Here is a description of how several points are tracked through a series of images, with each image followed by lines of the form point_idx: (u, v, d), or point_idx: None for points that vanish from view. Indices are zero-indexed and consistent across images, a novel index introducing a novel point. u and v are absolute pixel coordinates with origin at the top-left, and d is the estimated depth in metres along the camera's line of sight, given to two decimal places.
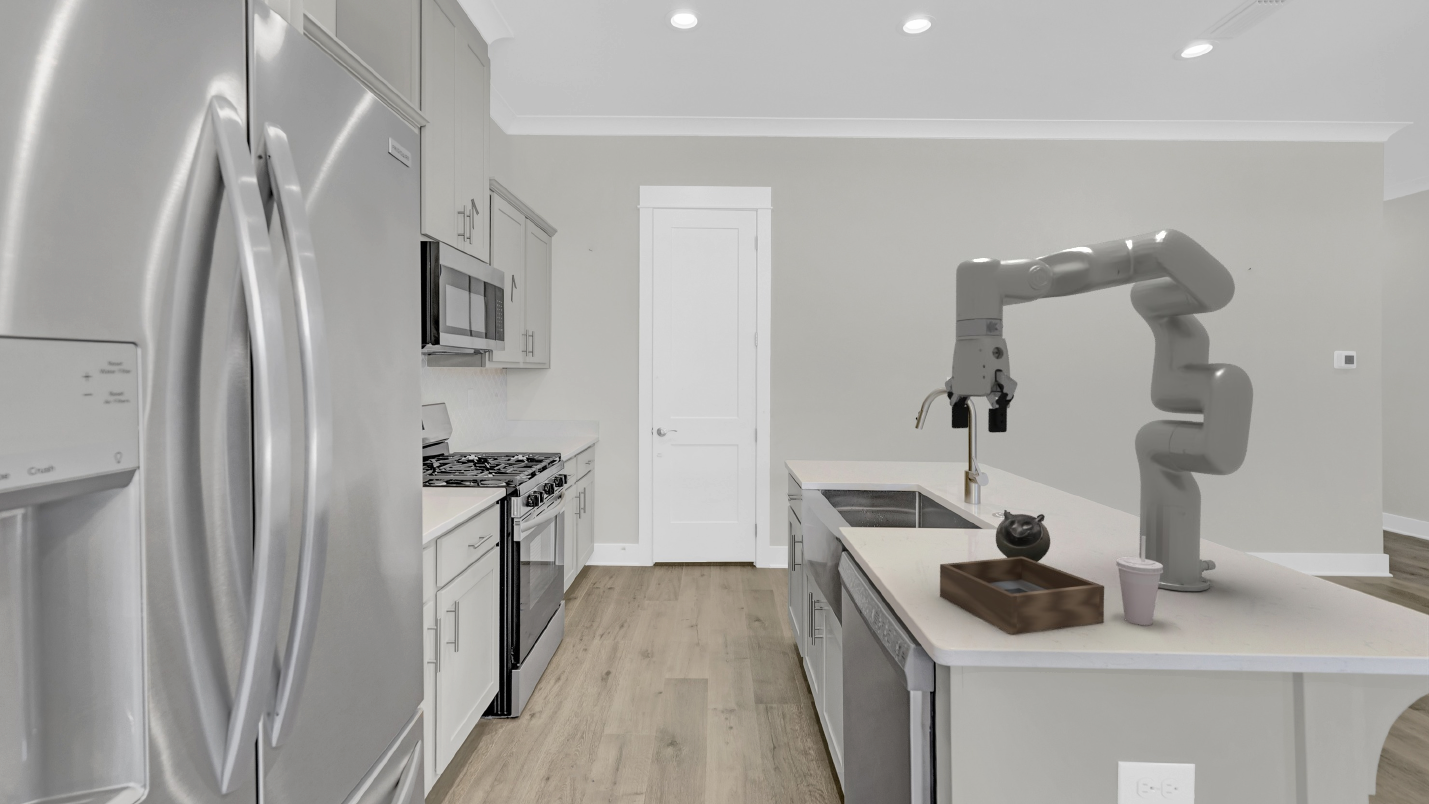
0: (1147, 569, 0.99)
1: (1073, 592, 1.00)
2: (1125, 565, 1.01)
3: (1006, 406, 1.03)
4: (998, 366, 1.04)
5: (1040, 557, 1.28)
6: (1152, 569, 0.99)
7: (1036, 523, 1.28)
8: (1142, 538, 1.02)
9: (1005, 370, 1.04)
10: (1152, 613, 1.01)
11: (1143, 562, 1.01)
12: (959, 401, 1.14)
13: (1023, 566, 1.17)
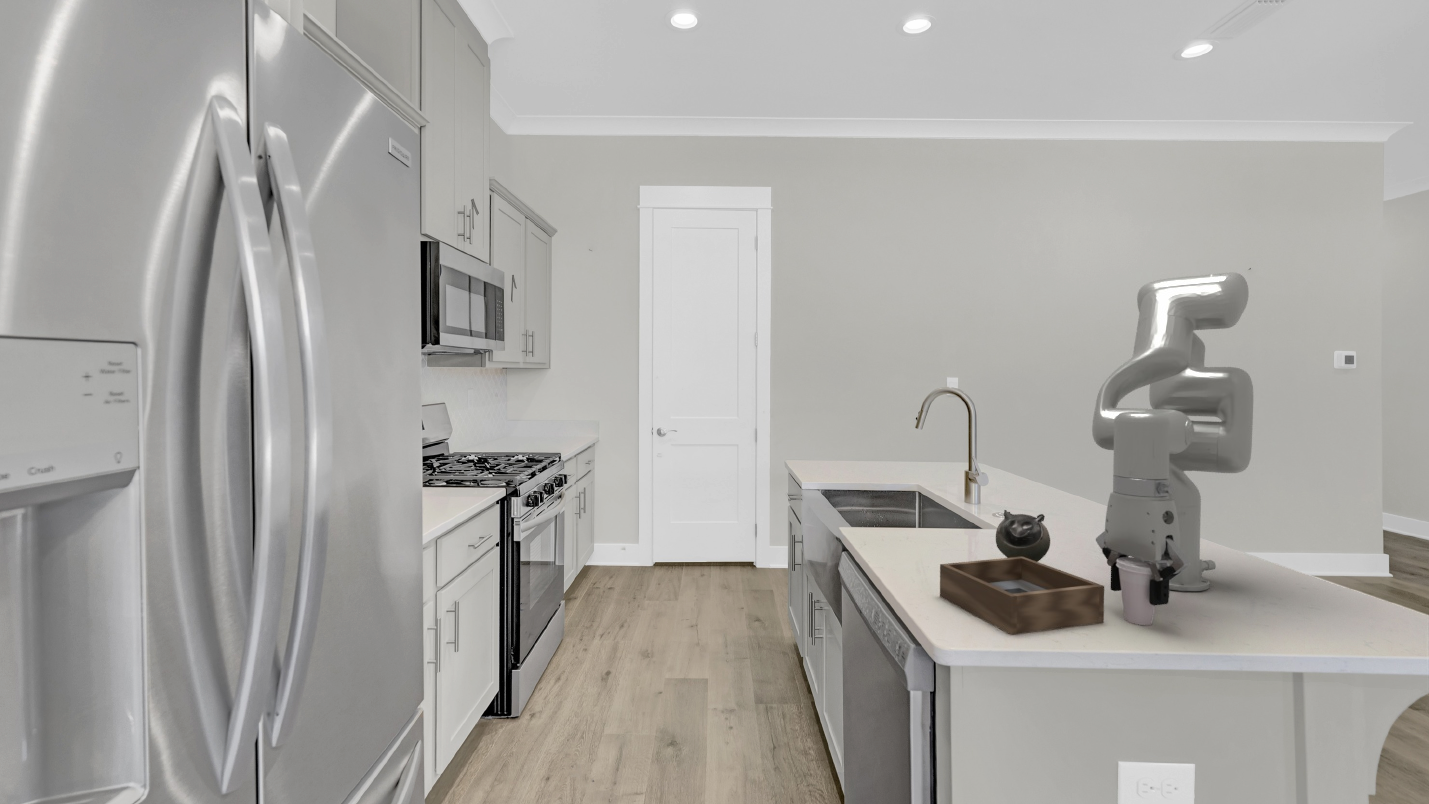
0: (1147, 569, 0.99)
1: (1073, 592, 1.00)
2: (1125, 565, 1.01)
3: (1169, 579, 0.98)
4: (1169, 532, 0.97)
5: (1040, 557, 1.28)
6: None
7: (1036, 523, 1.28)
8: None
9: (1176, 535, 0.97)
10: (1152, 613, 1.01)
11: (1143, 562, 1.01)
12: None
13: (1023, 566, 1.17)
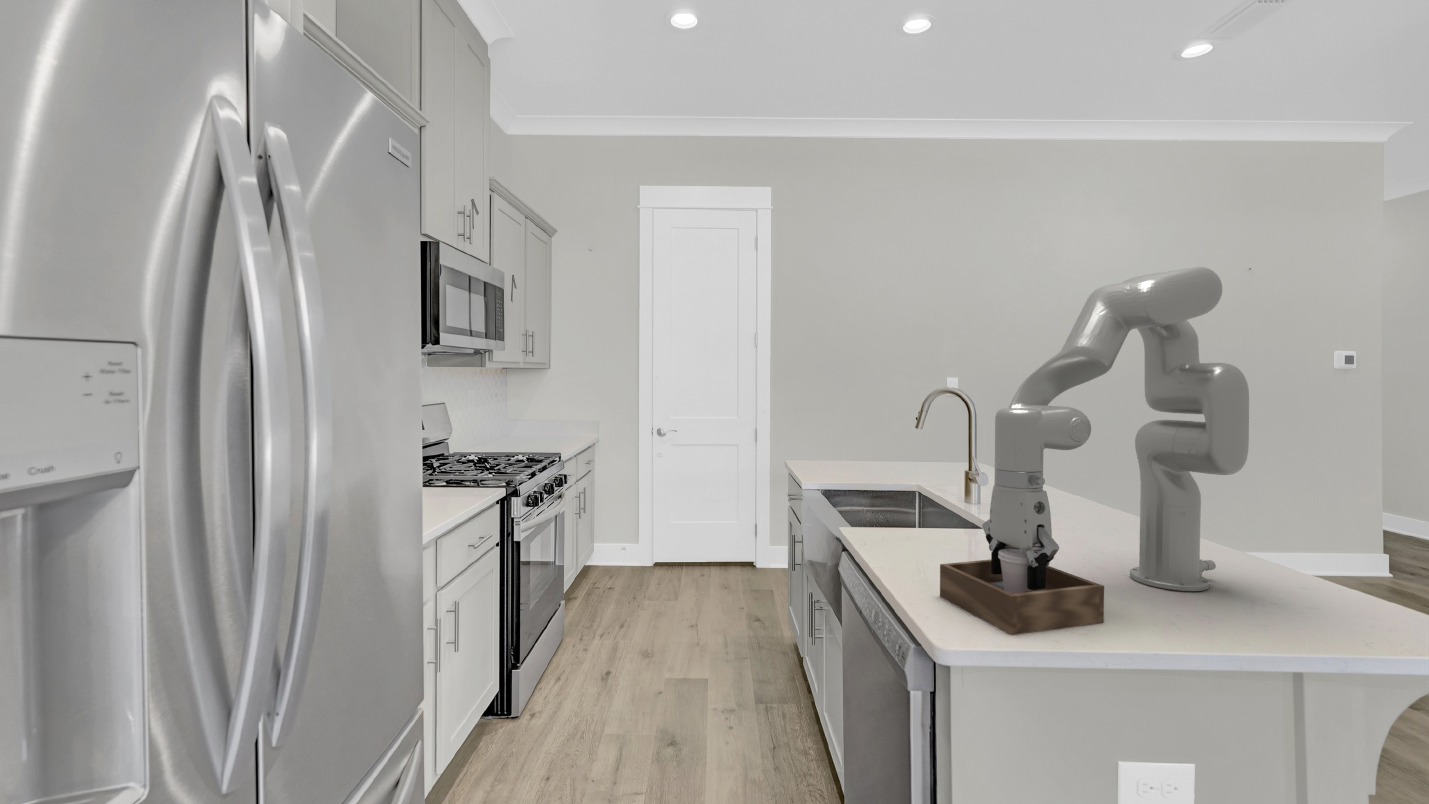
0: (1022, 559, 1.05)
1: (1073, 592, 1.00)
2: (1004, 556, 1.07)
3: (1045, 565, 1.03)
4: (1040, 521, 1.03)
5: None
6: (1027, 559, 1.05)
7: None
8: None
9: (1047, 525, 1.03)
10: None
11: (1021, 553, 1.07)
12: (999, 546, 1.12)
13: None
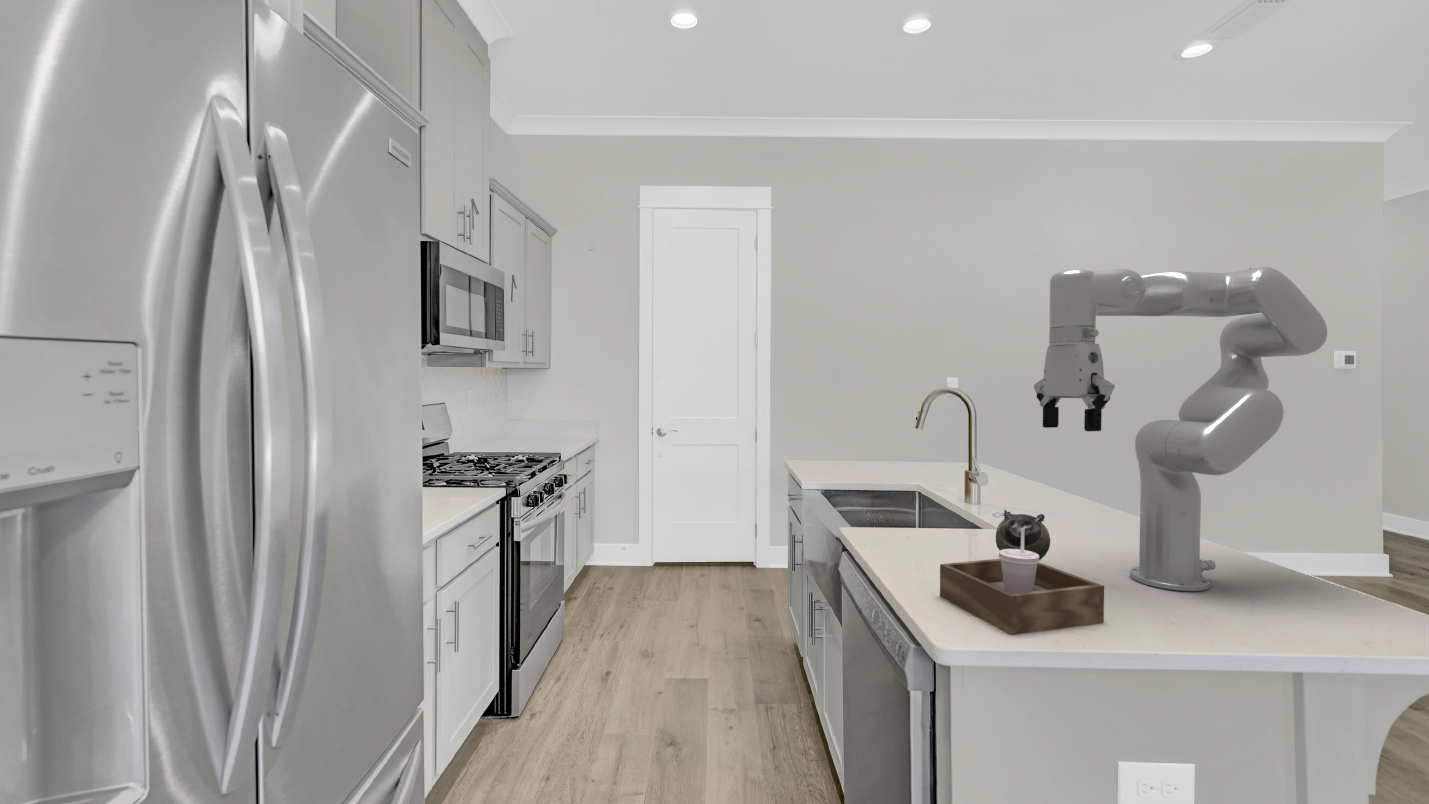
0: (1023, 559, 1.05)
1: (1073, 592, 1.00)
2: (1004, 556, 1.07)
3: (1102, 407, 1.12)
4: (1094, 370, 1.12)
5: (1040, 557, 1.28)
6: (1028, 559, 1.05)
7: (1036, 523, 1.28)
8: (1021, 530, 1.07)
9: (1100, 373, 1.13)
10: None
11: (1022, 553, 1.07)
12: (1049, 402, 1.22)
13: None
